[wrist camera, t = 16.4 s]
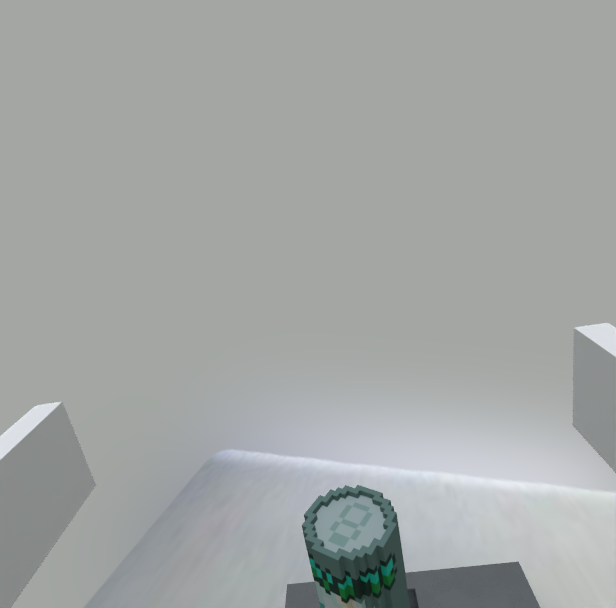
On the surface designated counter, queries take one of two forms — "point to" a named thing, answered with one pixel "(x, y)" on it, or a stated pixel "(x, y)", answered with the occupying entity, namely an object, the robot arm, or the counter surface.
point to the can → (355, 550)
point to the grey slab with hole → (448, 588)
